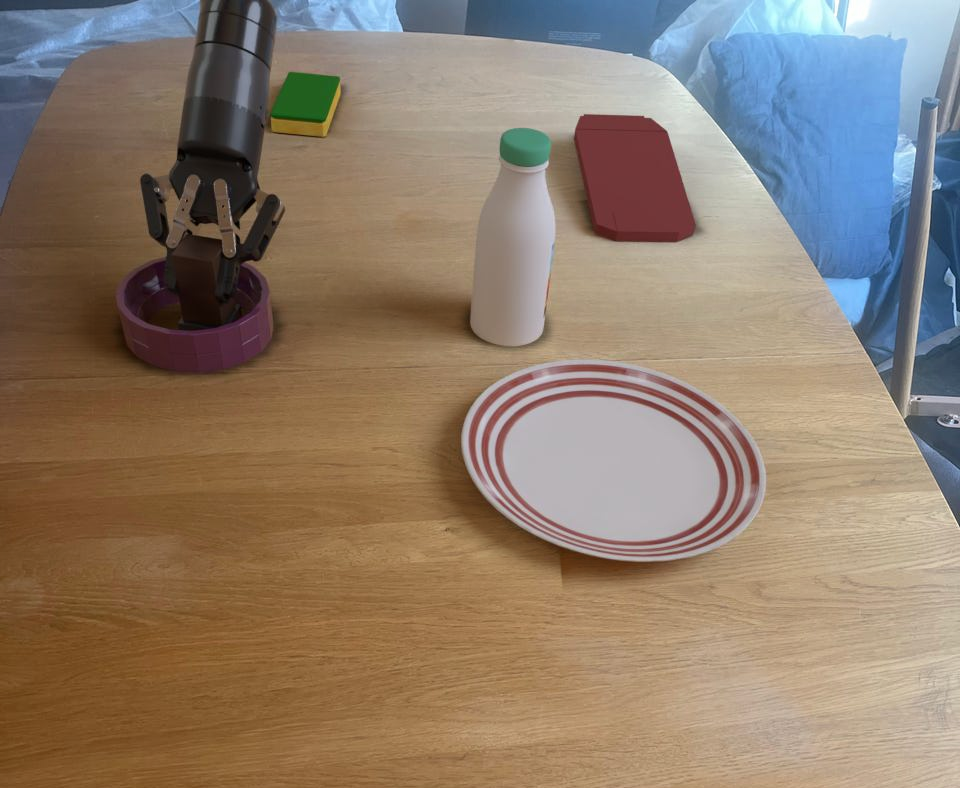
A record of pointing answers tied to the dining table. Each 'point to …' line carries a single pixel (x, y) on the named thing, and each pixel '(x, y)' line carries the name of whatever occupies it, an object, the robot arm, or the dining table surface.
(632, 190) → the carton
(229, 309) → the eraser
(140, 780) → the dining table surface
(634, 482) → the dinner plate
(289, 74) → the dish sponge
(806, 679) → the dining table surface
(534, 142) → the milk bottle
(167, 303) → the ring
